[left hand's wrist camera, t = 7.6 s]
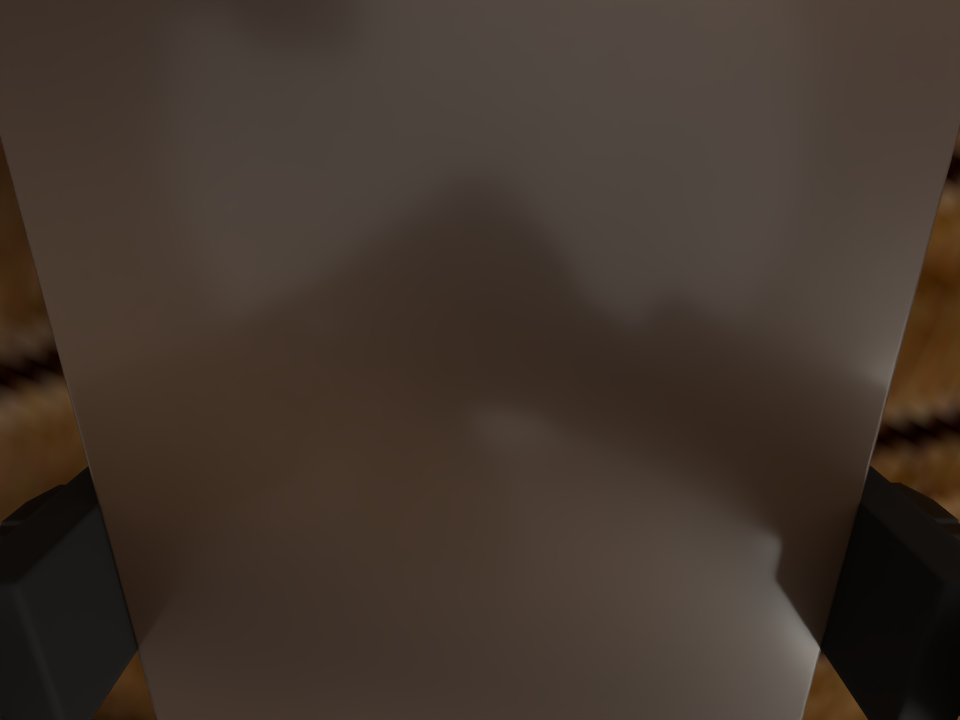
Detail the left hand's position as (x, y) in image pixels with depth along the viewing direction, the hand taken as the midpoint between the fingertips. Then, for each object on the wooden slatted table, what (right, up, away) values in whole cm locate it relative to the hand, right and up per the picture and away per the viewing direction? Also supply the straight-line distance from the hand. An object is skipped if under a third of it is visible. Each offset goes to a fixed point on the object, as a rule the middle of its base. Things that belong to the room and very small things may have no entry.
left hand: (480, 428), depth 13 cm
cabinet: (0, +9, +3) cm, 9 cm away
